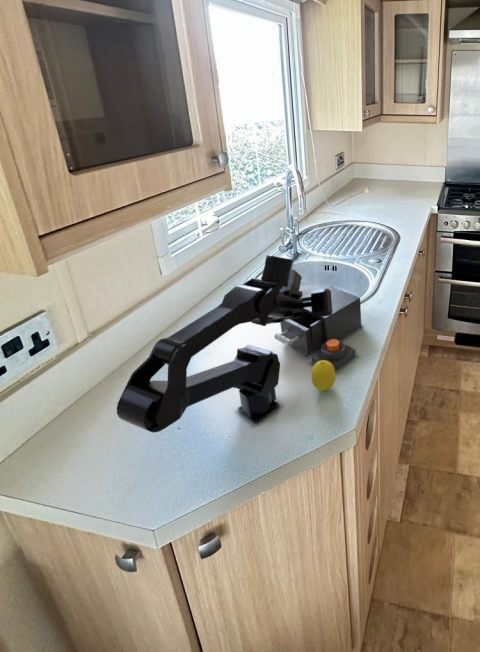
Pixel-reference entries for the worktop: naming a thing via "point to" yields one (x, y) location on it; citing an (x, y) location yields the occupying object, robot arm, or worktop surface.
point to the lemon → (323, 375)
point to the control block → (335, 355)
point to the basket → (302, 333)
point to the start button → (333, 345)
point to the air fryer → (341, 315)
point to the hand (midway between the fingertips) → (312, 309)
